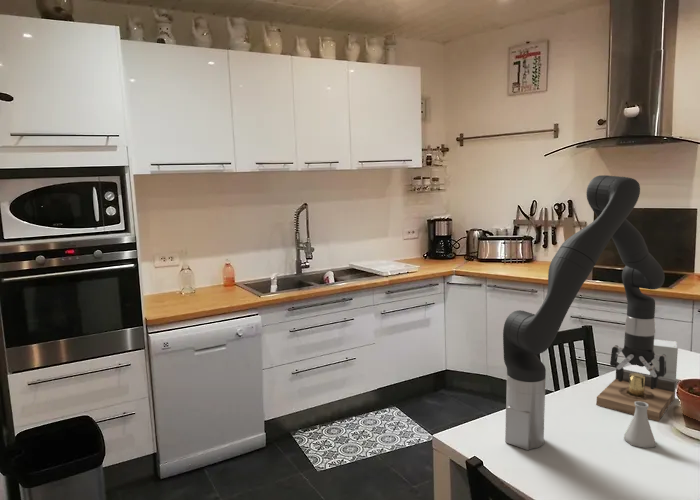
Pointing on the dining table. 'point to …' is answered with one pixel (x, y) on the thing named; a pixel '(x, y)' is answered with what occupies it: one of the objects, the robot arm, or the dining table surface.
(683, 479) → the dining table surface
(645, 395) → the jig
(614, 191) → the robot arm
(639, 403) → the flask
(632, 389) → the gold upright block
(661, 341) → the supplement box
